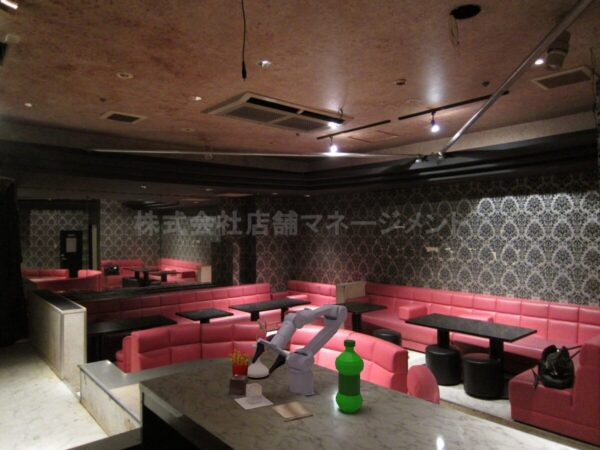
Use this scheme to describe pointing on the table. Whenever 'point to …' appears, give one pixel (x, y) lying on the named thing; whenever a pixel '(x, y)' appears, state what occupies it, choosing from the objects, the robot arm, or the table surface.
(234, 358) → the french fries
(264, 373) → the flower in vase
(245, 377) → the box
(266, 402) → the stand
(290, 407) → the stand
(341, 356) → the plastic bottle
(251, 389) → the block
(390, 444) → the table surface
